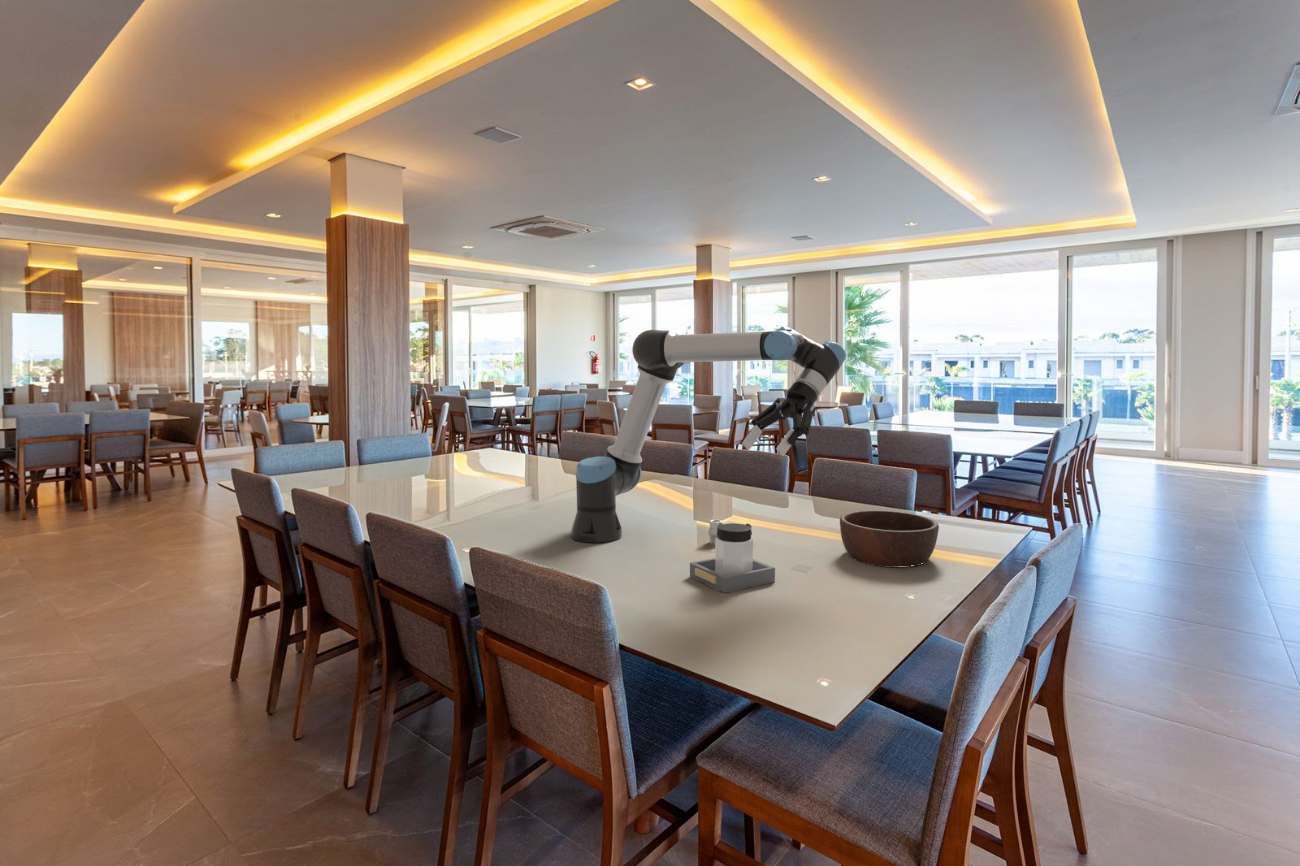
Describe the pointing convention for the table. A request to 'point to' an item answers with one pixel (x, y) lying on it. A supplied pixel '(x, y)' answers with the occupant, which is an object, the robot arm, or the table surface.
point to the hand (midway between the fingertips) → (761, 449)
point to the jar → (733, 549)
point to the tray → (732, 576)
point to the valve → (713, 529)
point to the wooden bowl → (888, 537)
